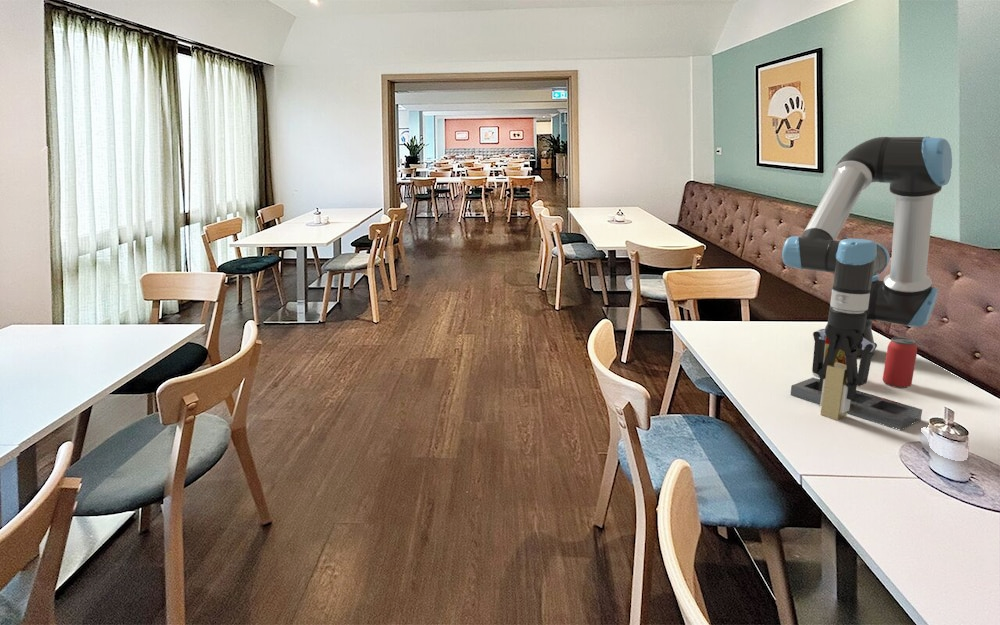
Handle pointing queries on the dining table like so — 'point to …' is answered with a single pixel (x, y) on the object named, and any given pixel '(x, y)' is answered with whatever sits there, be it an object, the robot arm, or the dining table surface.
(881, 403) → the grey slotted tray
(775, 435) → the dining table surface
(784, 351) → the dining table surface
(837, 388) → the wooden block
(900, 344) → the beer can
